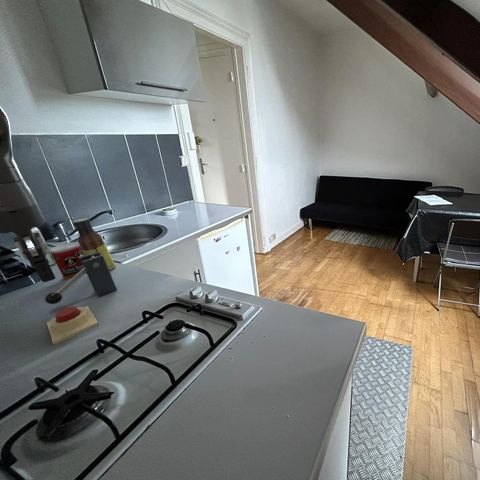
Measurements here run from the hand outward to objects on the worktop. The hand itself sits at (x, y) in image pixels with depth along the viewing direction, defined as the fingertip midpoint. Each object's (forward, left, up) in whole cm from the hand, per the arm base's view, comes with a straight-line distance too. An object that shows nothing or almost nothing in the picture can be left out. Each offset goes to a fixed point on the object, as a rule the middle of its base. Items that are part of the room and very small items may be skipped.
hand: (49, 279), depth 59 cm
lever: (-2, +12, -7) cm, 15 cm away
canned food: (-13, +35, -14) cm, 40 cm away
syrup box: (-30, +51, -14) cm, 60 cm away
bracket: (+2, +15, -14) cm, 20 cm away
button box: (0, 0, -14) cm, 14 cm away
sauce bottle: (-4, +32, -14) cm, 35 cm away
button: (0, 0, -10) cm, 10 cm away
